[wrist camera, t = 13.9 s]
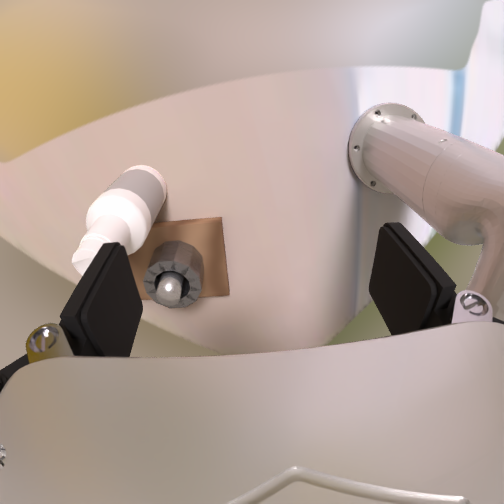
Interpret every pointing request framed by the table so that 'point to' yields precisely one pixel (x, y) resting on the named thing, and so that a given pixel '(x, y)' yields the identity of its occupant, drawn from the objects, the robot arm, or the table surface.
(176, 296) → the steel shaft
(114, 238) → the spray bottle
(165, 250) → the ring
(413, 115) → the robot arm
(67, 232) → the table surface
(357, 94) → the table surface
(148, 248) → the walnut base
